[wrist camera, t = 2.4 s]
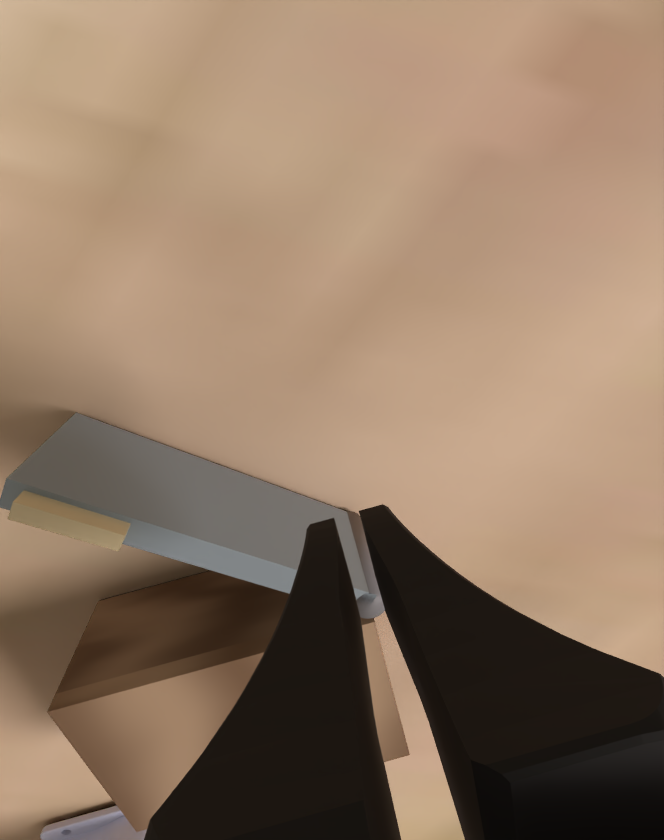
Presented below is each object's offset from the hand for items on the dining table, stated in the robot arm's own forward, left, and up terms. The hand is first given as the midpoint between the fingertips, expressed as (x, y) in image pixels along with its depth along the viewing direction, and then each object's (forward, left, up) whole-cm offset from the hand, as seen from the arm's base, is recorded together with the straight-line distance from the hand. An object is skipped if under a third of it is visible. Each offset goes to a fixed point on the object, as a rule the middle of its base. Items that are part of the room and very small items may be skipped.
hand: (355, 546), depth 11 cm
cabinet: (-6, -10, -8) cm, 14 cm away
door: (-4, -2, -8) cm, 9 cm away
